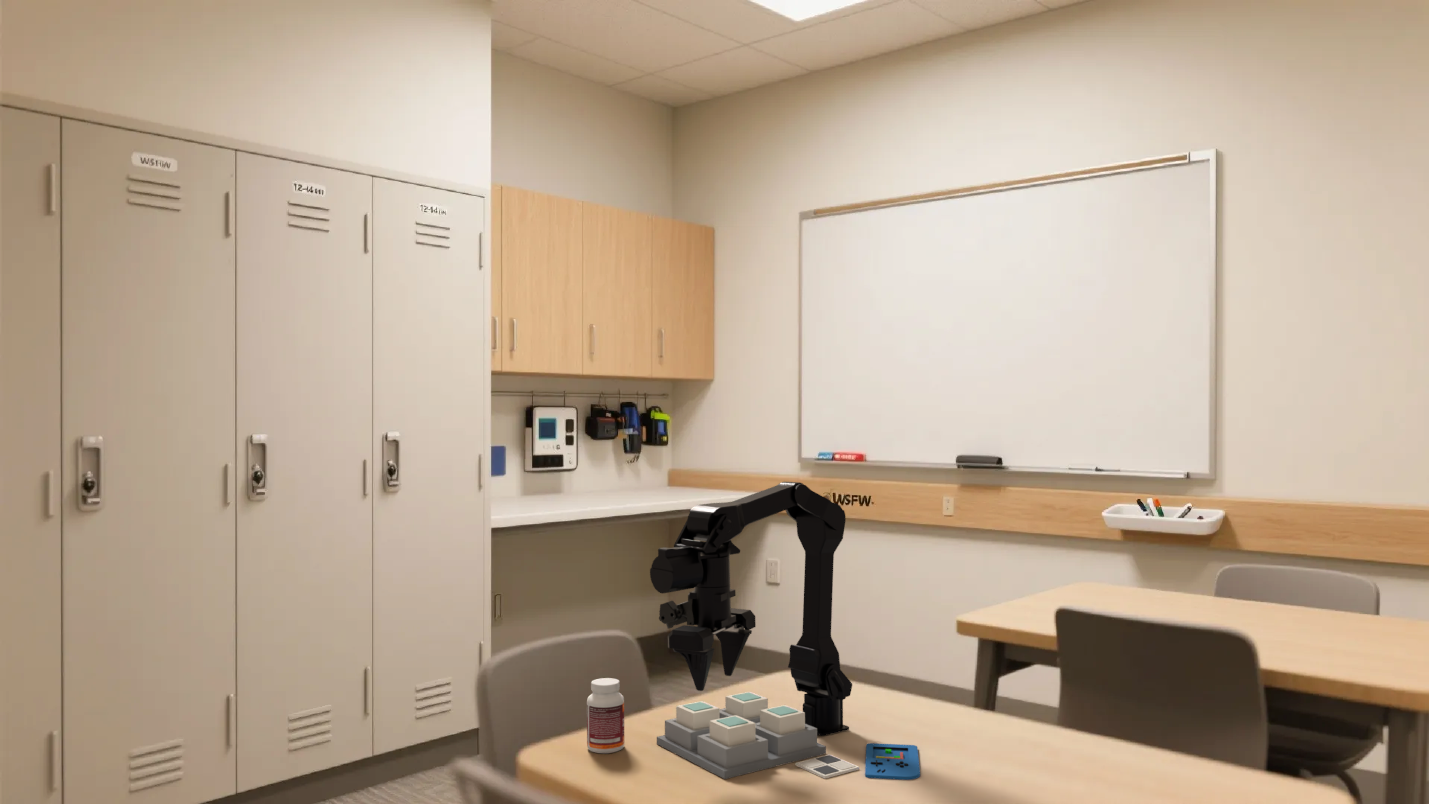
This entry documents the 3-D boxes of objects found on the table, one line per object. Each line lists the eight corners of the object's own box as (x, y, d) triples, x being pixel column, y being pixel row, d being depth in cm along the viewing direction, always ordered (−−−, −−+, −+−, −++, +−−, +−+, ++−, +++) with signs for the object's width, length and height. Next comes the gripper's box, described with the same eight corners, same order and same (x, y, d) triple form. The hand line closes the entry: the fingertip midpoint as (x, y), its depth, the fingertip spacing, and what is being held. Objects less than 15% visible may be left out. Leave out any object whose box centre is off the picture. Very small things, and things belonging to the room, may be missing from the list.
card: (829, 756, 162) (829, 753, 162) (859, 769, 156) (859, 766, 156) (795, 765, 158) (795, 762, 158) (824, 778, 152) (824, 775, 152)
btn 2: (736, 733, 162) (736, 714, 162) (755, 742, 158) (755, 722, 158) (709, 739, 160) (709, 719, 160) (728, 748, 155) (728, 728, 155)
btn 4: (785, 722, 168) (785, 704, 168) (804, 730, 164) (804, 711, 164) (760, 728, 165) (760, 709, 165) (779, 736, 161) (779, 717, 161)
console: (753, 723, 180) (752, 700, 180) (826, 753, 163) (825, 728, 163) (656, 743, 168) (656, 719, 168) (724, 779, 152) (724, 752, 152)
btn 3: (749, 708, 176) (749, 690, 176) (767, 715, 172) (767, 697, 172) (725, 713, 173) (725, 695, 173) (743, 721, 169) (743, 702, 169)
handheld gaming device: (865, 772, 152) (866, 741, 167) (865, 780, 152) (866, 747, 167) (920, 775, 151) (917, 743, 166) (920, 783, 151) (917, 750, 166)
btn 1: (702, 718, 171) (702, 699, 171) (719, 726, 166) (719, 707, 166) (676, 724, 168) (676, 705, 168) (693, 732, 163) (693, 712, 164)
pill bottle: (631, 750, 166) (631, 682, 166) (597, 757, 162) (597, 688, 162) (613, 739, 171) (613, 674, 171) (580, 746, 167) (580, 680, 167)
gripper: (697, 572, 172) (699, 663, 172) (637, 591, 155) (639, 692, 155) (756, 576, 166) (758, 670, 166) (700, 596, 150) (702, 701, 150)
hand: (714, 682), depth 160 cm, fingers open, 9 cm apart
